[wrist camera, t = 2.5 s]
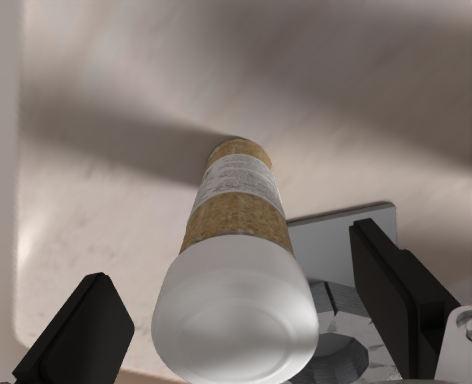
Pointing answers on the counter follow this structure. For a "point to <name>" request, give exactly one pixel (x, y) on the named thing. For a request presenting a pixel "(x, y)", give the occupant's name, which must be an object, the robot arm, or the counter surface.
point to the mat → (334, 254)
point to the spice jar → (236, 281)
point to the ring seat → (357, 350)
